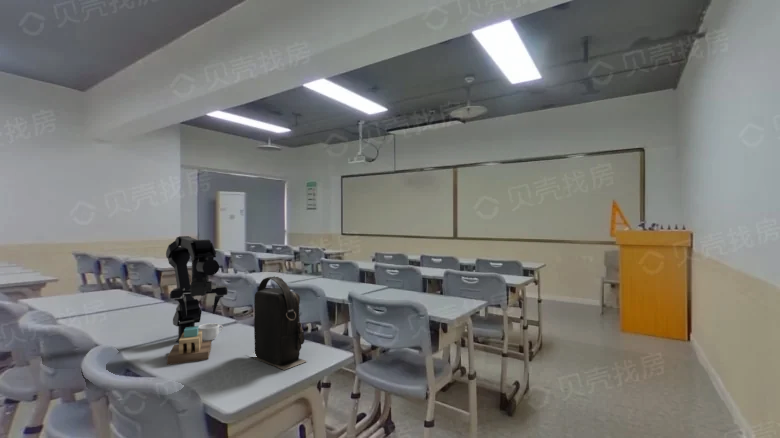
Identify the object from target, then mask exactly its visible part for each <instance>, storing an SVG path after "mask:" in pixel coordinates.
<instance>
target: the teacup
mask: <svg viewBox="0 0 780 438" xmlns="http://www.w3.org/2000/svg"><path fill="white" fill-rule="evenodd" d="M198 326H199V328H198V331H202V342H204V341H213V340H215V339H217V337H218V336H219V333H221V332H222V331H223V329H224V326H223V324H219V323H215V322H211V323H204V324H200V325H198ZM220 327H221V328H220Z"/></svg>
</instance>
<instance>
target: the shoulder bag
mask: <svg viewBox="0 0 780 438" xmlns="http://www.w3.org/2000/svg"><path fill="white" fill-rule="evenodd" d="M270 280H271V281H273V282H275V284H277V286H279V287H274V288H273V287H271V288H267V286H268V283H269V282H270ZM253 300H254V301H253V303H254V318H253V319H254V321H253V322H254V323H253V324H254V325H253V326H254V327H253V328H254V329H253V330H254V352H255V354H256V356H257V357H254V358H255V359H254V360H256V361H258V362H262V363H264V364H268V365H269V366H273V367H276V368H279V369H280V370H284V371H285V370H288V369H290V368H293V367H296V366H298V365H301V364H303V363H307V362H308V361H307V360H305V359H302V358H300V351H301V349H302V345H303V344H304V343H305V340H306V339H305V332H304V329H303V327H302V323H301V322H300V320H301V319H300V304H301V303H300V301H301V296H300V294H299V293H297V292H294V291H291V290H290V286H288V284H287V282H286V281H285V280H284V279H283V278H282V277H279V276H268V277H265V278H263V279H262V280H261V281H260V283H259V286H258V289H257V291H256V292H255V293H254V299H253Z"/></svg>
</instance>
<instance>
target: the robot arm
mask: <svg viewBox="0 0 780 438" xmlns="http://www.w3.org/2000/svg"><path fill="white" fill-rule="evenodd" d="M216 254H217V252H216V249H215V247H214V245H213V242H212V241H211V240H210V239H197V238H193V237H191V236H189V235H188V236H187V235H184V236H183V235H182V236H177V237H176V238H175V240H174V241H172V242H171V243H170V244H168V246H167V249H166V252H165V255H166V256H165V257H166V259H167V261H168V264H169V265H170V266H171V267H172V268H173V269H174V273H175V274H174V276H175V280H176V281H175V282H176V287H177V288H173V289H172V290H171V291H170V293H169V296H170V297H169V298H170V299H174V300H173V301H175V302H176V301H177V302H178V304H177V306H176V308H175V313H174V315H173V317H172V325H173V326H175V327H177V329H178V330H177V332H178V333H177V335H178V336H177V338H176V339H175V342H176V343H179V339H180V338H181V336H182V334H183V332H184V330H185V328H186V327H194V326H195V325H196V324H197V323H200V322H201V319H202V309H201V307H200V305H199V299H197V298H194V297H196V296H197V297H198V296H200V297H203V296H206V295H207V294H215V296H214V302H213V306H212V307H213V308H212V315H214V314H216V313H215V312H216V309H217V306H218V304H219V301H220V299H221V298H224V296H226V295H228V293H229V288H228V285H216V287H215V288H213V282H212V280H211V281H210V276H214V275H216V274H217V273H218V272H219V270H220V265H219V262H218V261H217V260H216V259H215V258H216V257H217V255H216ZM190 260H191V281H190V276H189V268H188V263H189V261H190Z"/></svg>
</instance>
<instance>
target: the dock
mask: <svg viewBox="0 0 780 438" xmlns="http://www.w3.org/2000/svg"><path fill="white" fill-rule="evenodd" d="M211 351H212V340H210V341H202V344H201V347H200V350H199V352H195V344H194V346H193V349H192V351H191V353H187V346H186V348H185V350H184V352H183V354H179V343H178V344H173V346H172V348H171V350H170V351H169V353H168V355H167V357H166V358H167V359H166V360H167V361H166V364H167V365H174V364H182V363H189V362H197V361H198V362H199V361H206V360H209V357H210V354H211Z"/></svg>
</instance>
